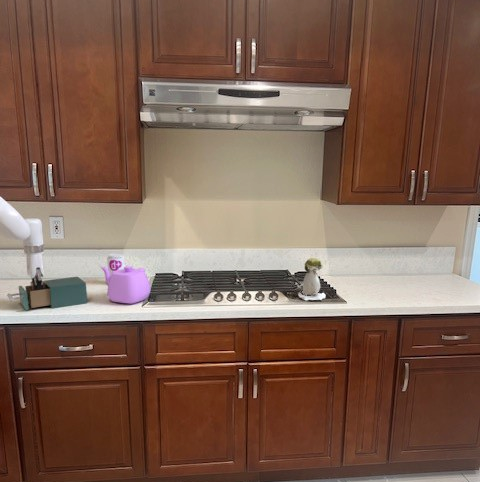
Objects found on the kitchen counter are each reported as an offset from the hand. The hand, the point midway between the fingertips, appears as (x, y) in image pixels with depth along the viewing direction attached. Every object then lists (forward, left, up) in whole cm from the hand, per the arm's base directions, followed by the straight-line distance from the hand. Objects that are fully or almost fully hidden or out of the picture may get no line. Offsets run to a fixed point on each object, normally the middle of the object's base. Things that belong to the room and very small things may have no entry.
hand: (38, 292), depth 193 cm
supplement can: (+43, +2, -6) cm, 44 cm away
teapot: (+29, -22, -6) cm, 37 cm away
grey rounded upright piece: (+84, -84, -6) cm, 119 cm away
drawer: (-2, +1, -5) cm, 6 cm away
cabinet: (+10, -4, -6) cm, 12 cm away
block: (0, 0, 0) cm, 0 cm away
